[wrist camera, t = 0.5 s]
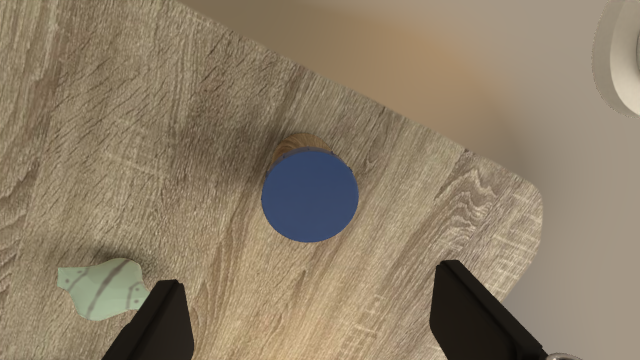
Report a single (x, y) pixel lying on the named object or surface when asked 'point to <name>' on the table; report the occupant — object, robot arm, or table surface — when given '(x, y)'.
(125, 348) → the robot arm
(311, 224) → the lid
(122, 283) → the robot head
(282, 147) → the jar
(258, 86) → the table surface
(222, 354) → the table surface
